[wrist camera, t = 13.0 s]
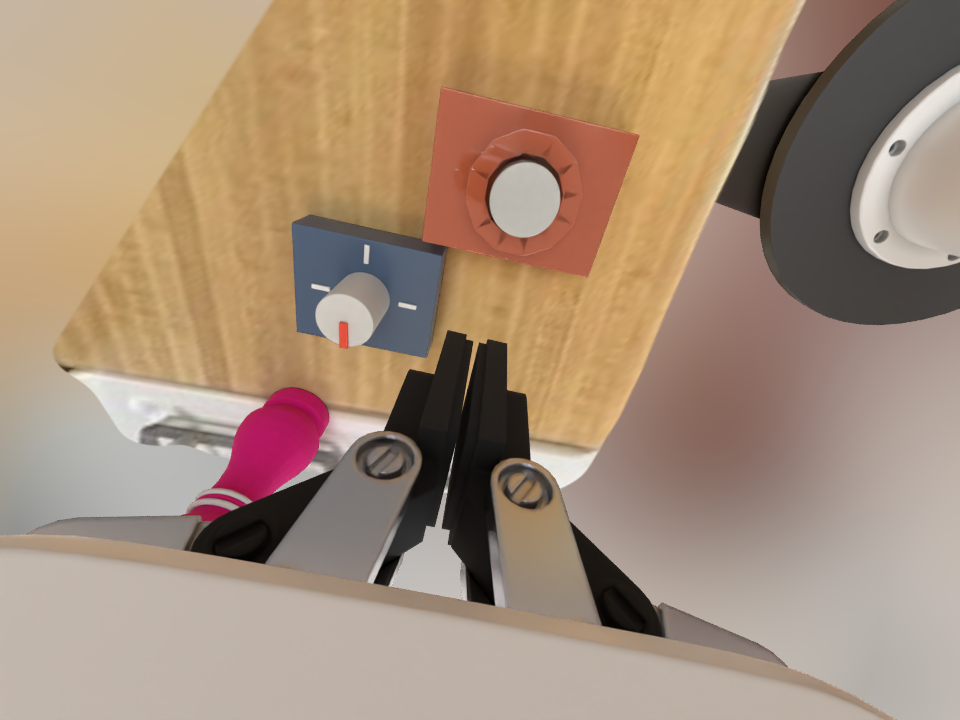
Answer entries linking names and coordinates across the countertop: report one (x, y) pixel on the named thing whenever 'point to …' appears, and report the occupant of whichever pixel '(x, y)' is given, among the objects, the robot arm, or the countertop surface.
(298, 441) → the pepper mill
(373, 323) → the grey dial knob
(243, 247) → the countertop surface
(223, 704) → the robot arm
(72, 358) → the countertop surface
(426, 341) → the tap panel
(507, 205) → the push button
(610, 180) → the orange button housing
